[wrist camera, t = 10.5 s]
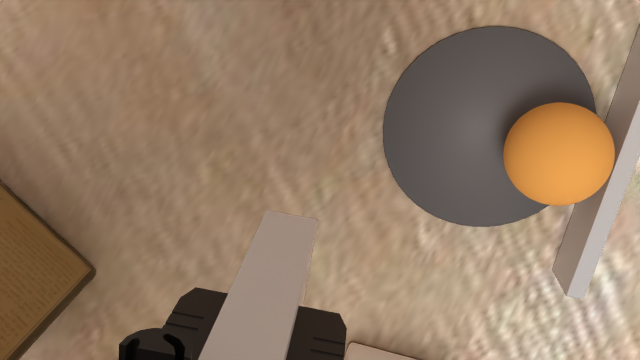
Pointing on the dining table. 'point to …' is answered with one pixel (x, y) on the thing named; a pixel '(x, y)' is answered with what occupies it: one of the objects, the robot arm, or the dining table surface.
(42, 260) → the food packaging
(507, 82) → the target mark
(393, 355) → the medicine bottle
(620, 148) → the wall
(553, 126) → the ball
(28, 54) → the dining table surface
